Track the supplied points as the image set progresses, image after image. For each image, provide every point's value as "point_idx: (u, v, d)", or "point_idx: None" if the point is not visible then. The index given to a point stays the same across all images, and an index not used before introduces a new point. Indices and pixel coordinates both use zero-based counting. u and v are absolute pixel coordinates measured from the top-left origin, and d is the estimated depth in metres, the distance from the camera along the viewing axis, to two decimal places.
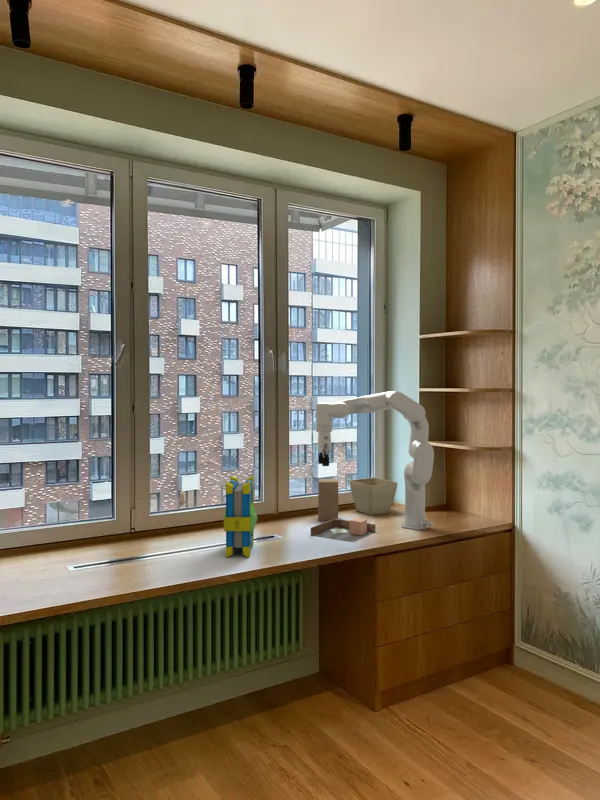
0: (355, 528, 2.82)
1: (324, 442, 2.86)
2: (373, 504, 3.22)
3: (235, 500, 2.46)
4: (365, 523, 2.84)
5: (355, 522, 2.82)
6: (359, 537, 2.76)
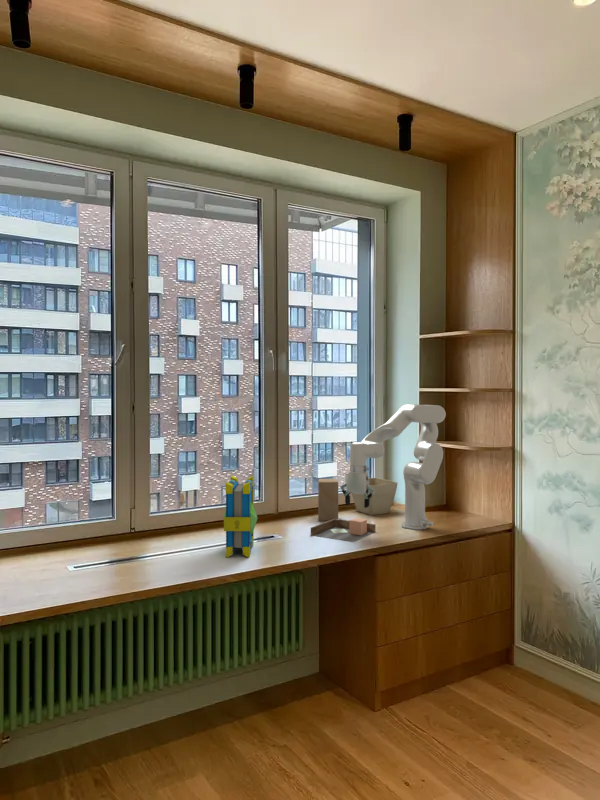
0: (355, 528, 2.82)
1: (366, 483, 2.81)
2: (373, 504, 3.22)
3: (235, 500, 2.46)
4: (365, 523, 2.84)
5: (355, 522, 2.82)
6: (359, 537, 2.76)
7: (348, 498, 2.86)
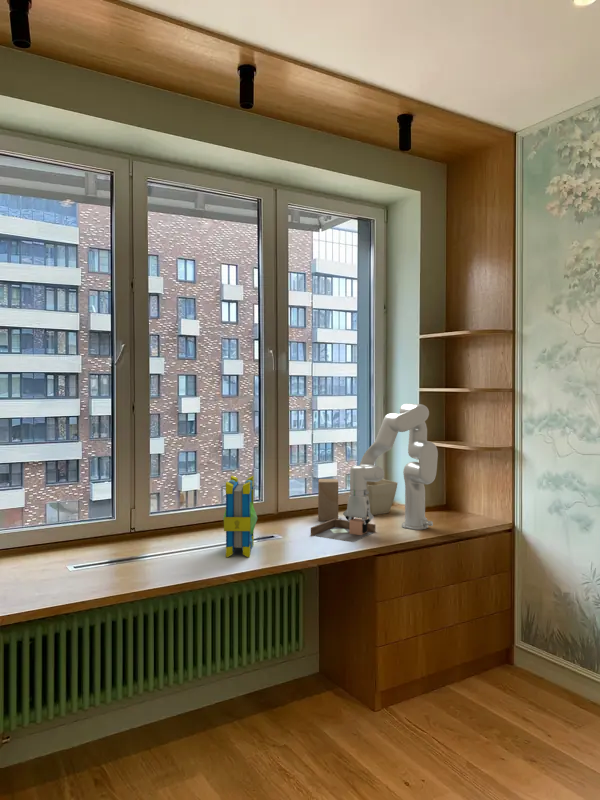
0: (355, 528, 2.82)
1: (367, 507, 2.81)
2: (373, 504, 3.22)
3: (235, 500, 2.46)
4: None
5: (355, 522, 2.82)
6: (359, 537, 2.76)
7: None
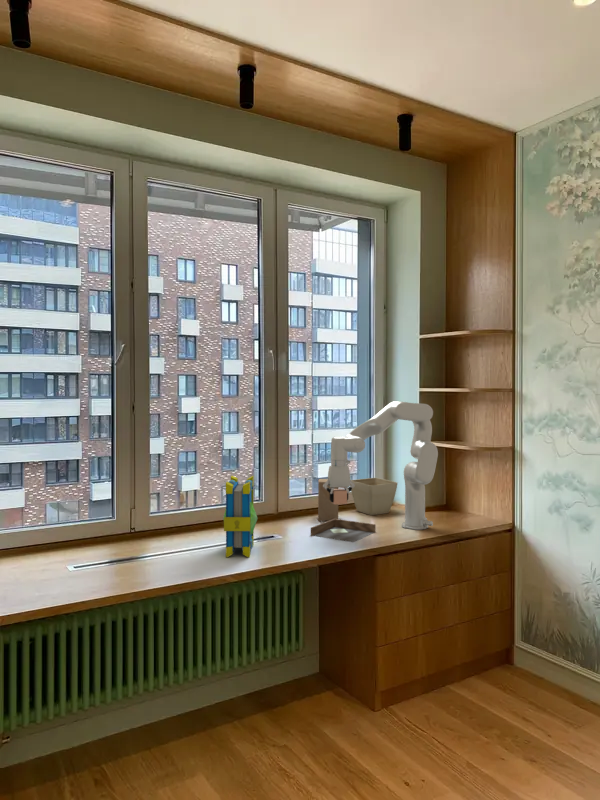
0: (341, 498, 2.84)
1: None
2: (373, 504, 3.22)
3: (235, 500, 2.47)
4: None
5: (341, 492, 2.84)
6: (359, 537, 2.76)
7: None
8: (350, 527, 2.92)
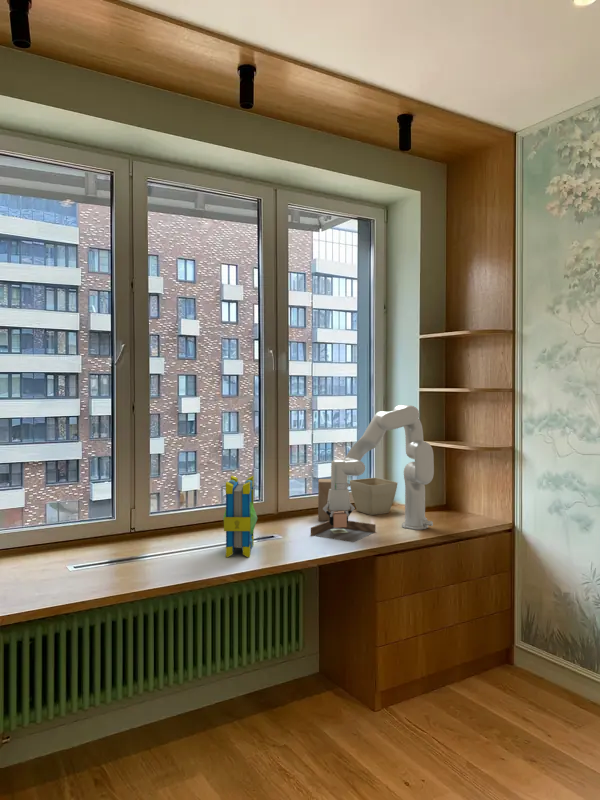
0: (340, 521, 2.84)
1: None
2: (373, 504, 3.22)
3: (235, 500, 2.46)
4: None
5: (340, 515, 2.84)
6: (359, 537, 2.76)
7: None
8: (350, 527, 2.92)
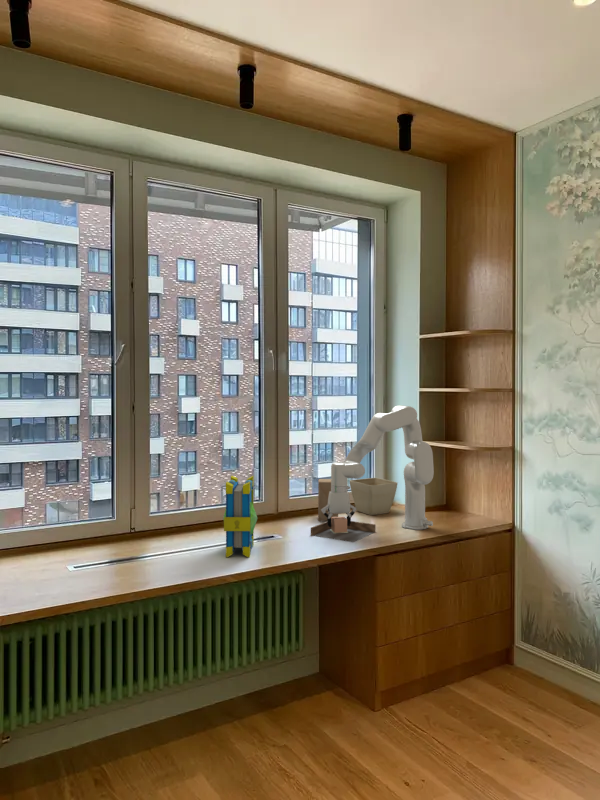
0: (341, 526, 2.85)
1: None
2: (373, 504, 3.22)
3: (235, 500, 2.47)
4: None
5: (341, 520, 2.85)
6: (359, 537, 2.76)
7: None
8: (350, 527, 2.92)
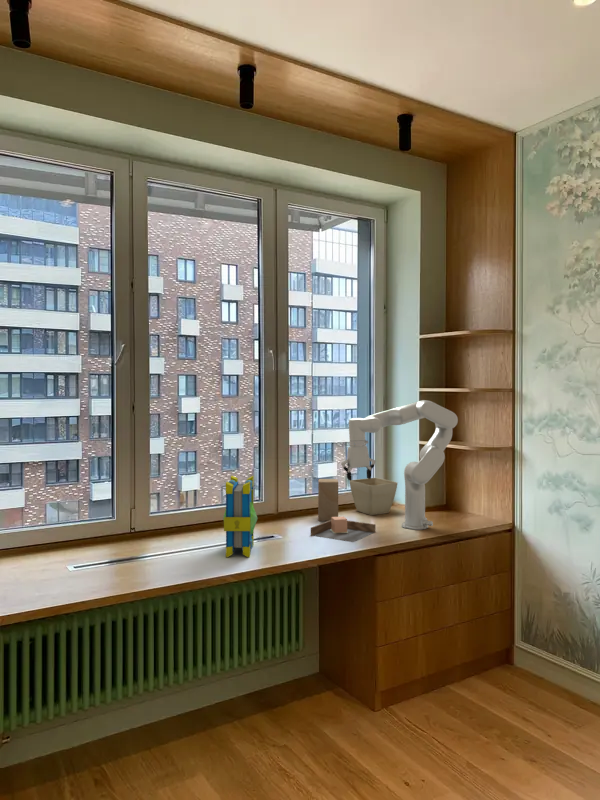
0: (341, 526, 2.85)
1: None
2: (373, 504, 3.22)
3: (235, 500, 2.46)
4: None
5: (341, 520, 2.85)
6: (359, 537, 2.76)
7: None
8: (350, 527, 2.92)
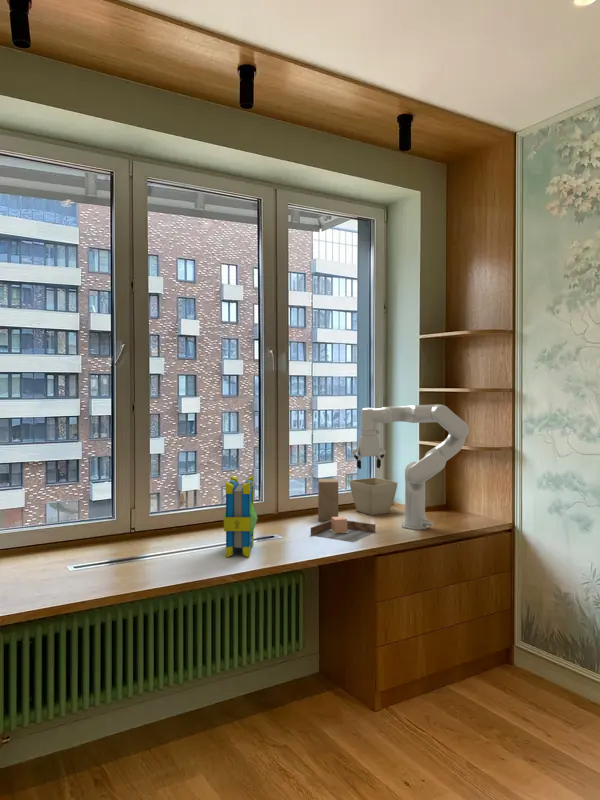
0: (341, 526, 2.85)
1: None
2: (373, 504, 3.22)
3: (235, 500, 2.46)
4: None
5: (341, 520, 2.85)
6: (359, 537, 2.76)
7: None
8: (350, 527, 2.92)
